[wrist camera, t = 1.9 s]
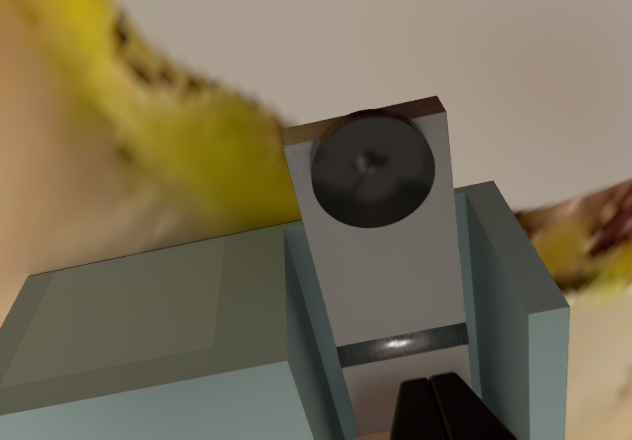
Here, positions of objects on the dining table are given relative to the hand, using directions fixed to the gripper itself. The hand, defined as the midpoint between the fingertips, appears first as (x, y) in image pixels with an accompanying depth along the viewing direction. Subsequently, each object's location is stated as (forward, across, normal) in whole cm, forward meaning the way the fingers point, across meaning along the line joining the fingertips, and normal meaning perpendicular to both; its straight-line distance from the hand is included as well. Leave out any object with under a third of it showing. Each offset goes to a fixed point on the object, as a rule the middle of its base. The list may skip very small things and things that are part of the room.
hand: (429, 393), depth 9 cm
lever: (+8, 0, +8) cm, 11 cm away
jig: (+11, +4, +12) cm, 17 cm away
